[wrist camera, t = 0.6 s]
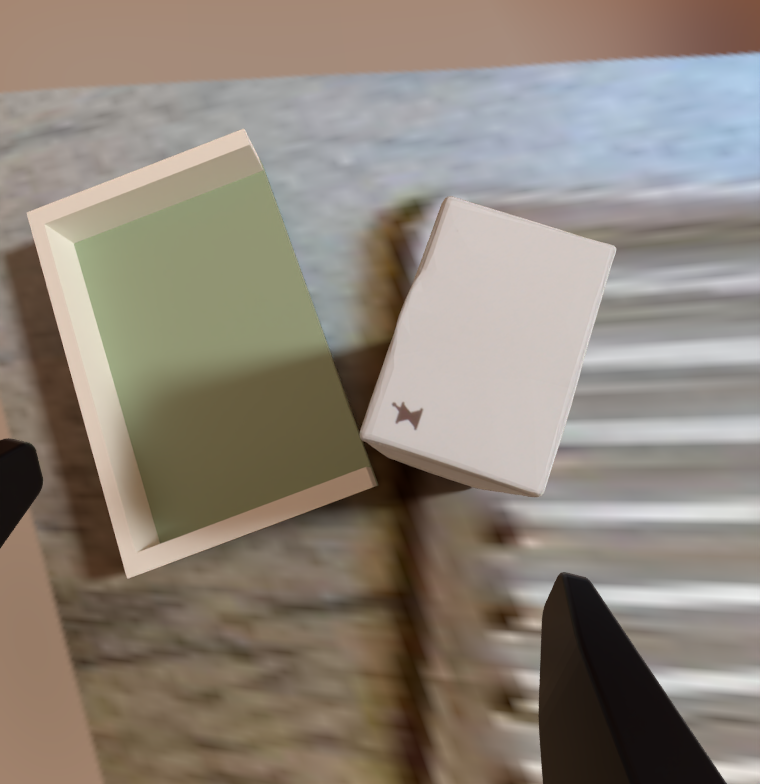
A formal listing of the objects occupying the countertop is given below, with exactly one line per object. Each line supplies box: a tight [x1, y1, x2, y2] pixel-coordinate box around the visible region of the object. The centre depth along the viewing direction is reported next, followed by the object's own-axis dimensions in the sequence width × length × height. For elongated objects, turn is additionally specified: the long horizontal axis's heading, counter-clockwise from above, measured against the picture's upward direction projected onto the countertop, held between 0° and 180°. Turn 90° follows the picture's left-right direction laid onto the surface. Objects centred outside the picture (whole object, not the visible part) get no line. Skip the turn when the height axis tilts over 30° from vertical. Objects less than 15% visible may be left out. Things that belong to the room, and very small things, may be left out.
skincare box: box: [360, 196, 616, 497], centre depth 18 cm, size 6×4×12 cm
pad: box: [27, 129, 378, 579], centre depth 23 cm, size 16×10×3 cm, turn 20°
